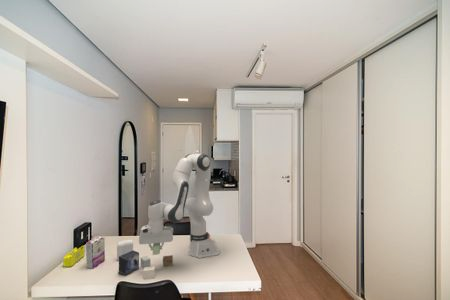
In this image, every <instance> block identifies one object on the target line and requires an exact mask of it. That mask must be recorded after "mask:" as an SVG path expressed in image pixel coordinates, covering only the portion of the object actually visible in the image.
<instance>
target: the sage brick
mask: <svg viewBox="0 0 450 300" xmlns="http://www.w3.org/2000/svg"><path fill="white" fill-rule="evenodd" d="M160 246H161V243H152V247H153V250H152V256H154V255H155V256H156V255H160V254H161V249H160Z"/></svg>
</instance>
